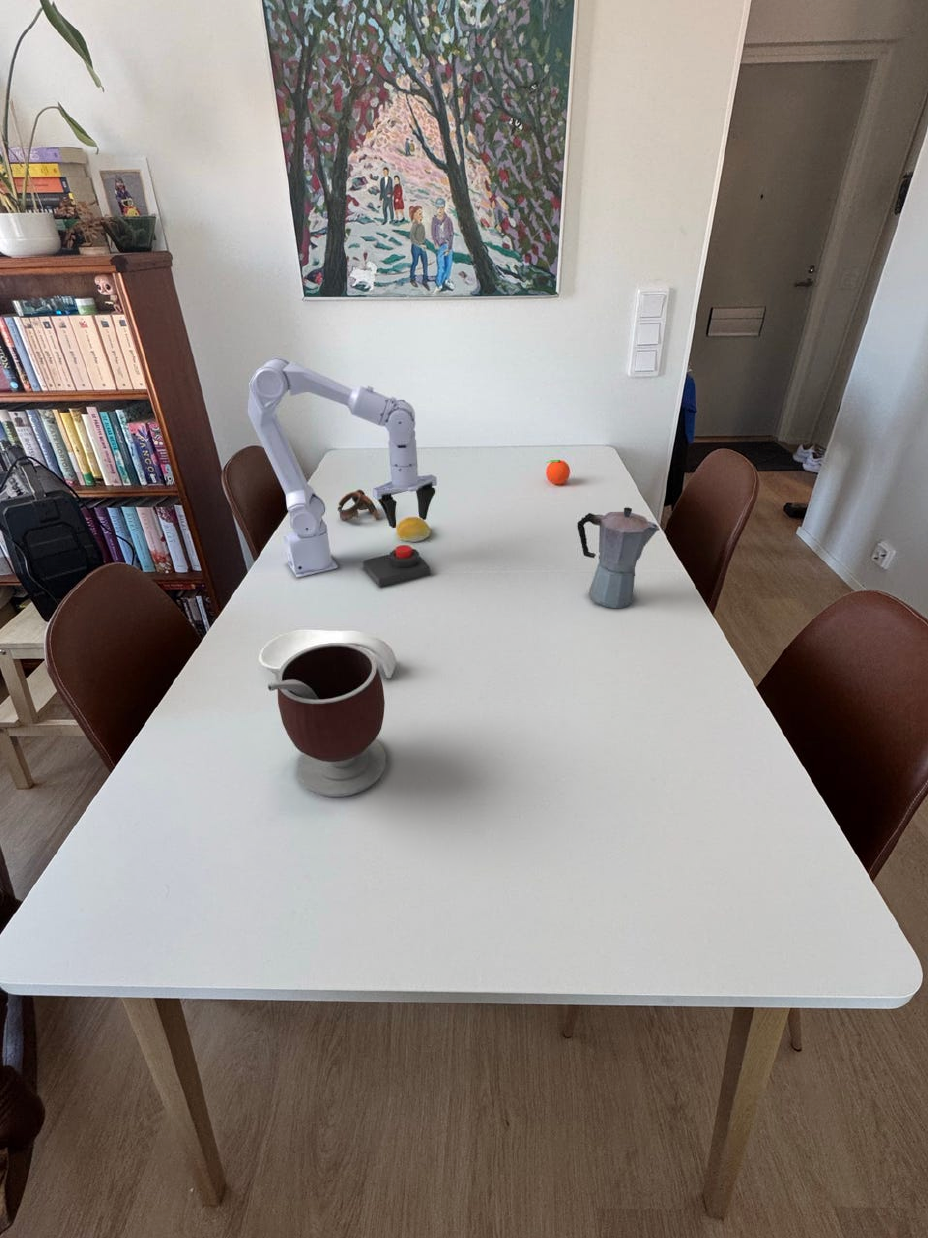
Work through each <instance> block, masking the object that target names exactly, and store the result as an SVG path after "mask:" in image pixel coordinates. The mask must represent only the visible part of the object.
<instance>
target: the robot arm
mask: <svg viewBox="0 0 928 1238" xmlns="http://www.w3.org/2000/svg"><path fill="white" fill-rule="evenodd" d="M248 387H249V395H248V404H247V415H248V418H249V420H250V422H251V425H252V426H253V428H254V431H255V432H256V435H257V437H258V440H259V442H260V443H261V445H262V448H263V450H264V452H265V454H266V456H267V458H268V460H269V462H270V464H271V466H272V469H273V471H274V473H275V475H276V477H277V479H278V482H279V484H280V486H281V488H282V490H283V492H284V495H285V501H286V509H287V511H288V514H289V525H290V528H291V530H292V531H291V532H289V533H285V534H283V535H284V536H283V537H284V539H283V540H284V545H285V550H286V556H287V561H288V562H287V564H288V566H289V567H290V569H291V570H292V572H293V574H294V576H295V577H296V578H302V577H307V576H311V575H314V574H315V575H316V574H319V573H323V572H327V571H331V570H336V569H338V568H339V566H338V564H337V563H336V562H335V561H334V559H333V558H332V553H331V545H330V540H329V533H328V526H327V524H326V523H325V521H324V519H323V517H324V515H325V513H326V505H325V502H324V501H323V499H322V497H320V496H318V494H317V493H316V491H315V489H314V487H312V486H311V485H310V484H309V482H308V481H307V479H306V478H305V475H304V473H303V470H302V468H301V466H300V463H299V462H298V460H297V457H296V455H295V453H294V450H293V448H292V446H291V444H290V441H289V439H288V437H287V434H286V432H285V430H284V428H283V426H282V422H281V421H280V419H279V417H278V415H277V411H278V408H279V406H280V404H281V402H282V400H283V398H284V397H285V396H286V394H287V393H288V391H289V392H290V396H291V397H292V396H296V395H300V394H304V393H310V394H313V395H316V396H319V397H322V398H323V399H328V400H330V401H333V402H336V403H338V404H341V405H344V406H346V407H347V408H348V410H349V412H350V414H351V415H352V416H355V417H357V418H360V419H362V420H365V421H367V422H369V423H372V424H374V425H377V426H380V427H385V428H386V431H387V432H388V453H389V467H390V476H391V478H390V480H391V481H389V482H386V483H384V484H382V485H379V486H376V487H373V488H372V495H373V496H372V497H373V498H374V499H375V500H377V501H378V503H379V505H380V506H381V508H382V510H383V512H384V514H385V517H386V519H387V522H388V526H389V527H390V528H392V529H397V517H396V510H397V503H398V502H397V500H395V499H394V497H393V495H397V494H401V493H406V492H410V493H411V492H412V493H413V492H415V494H416V498H417V512H418V518H420V519H422V520H424V521H425V520H427V517H428V512H429V509H430V505H431V502H432V500H433V498H434V496H435V495H436V488H435V486H437V483H438V482H437V476H436V475H434V474H427V475H419V467H418V449H417V439H416V431H415V428H416V412H415V410H414V407H413V406H412V405H411V404H410V403H409V402H408V401H406V400H405V399H397V398H396V397H394V396H391V398H390V397H388V396H386V395H384V394H381V393H379V392H377V391H374V387H373V386H370V385H367V386H366V387H364V386H361V385H360V386H358V387H356V388H350V387H348V386H346V385H344V384H341V383H339V382H337V381H336V380H333V379H331V378H329V377H327V376H325V375H322V374H320V373H318V372H317V371H314V370H312V369H310V368H307V367H305V366H304V365H302V364H299V363H298V362H295V361H290V362H289V361H288V360H287V359H285V358H283V357H279V356H278V357H272V358H270V359H268V360H267V361H265V364H263V365H262V366H261V367H260V368H258V369H257V370H256V371H255V373H254V374H253V376H252V378H251V380H250V381H249V384H248Z"/></svg>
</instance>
